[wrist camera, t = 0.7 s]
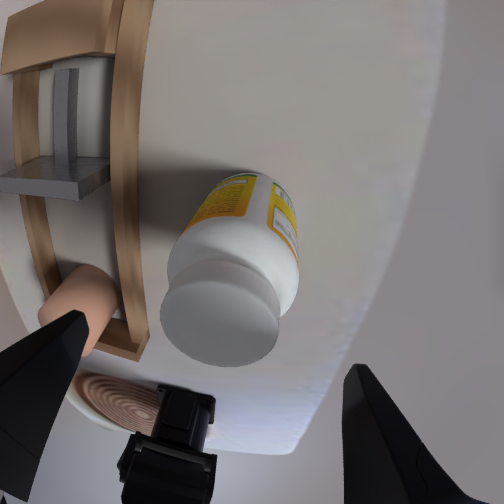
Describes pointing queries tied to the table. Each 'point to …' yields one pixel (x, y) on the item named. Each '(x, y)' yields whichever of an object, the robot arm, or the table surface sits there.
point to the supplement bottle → (233, 273)
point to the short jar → (84, 301)
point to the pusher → (60, 154)
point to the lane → (121, 133)
